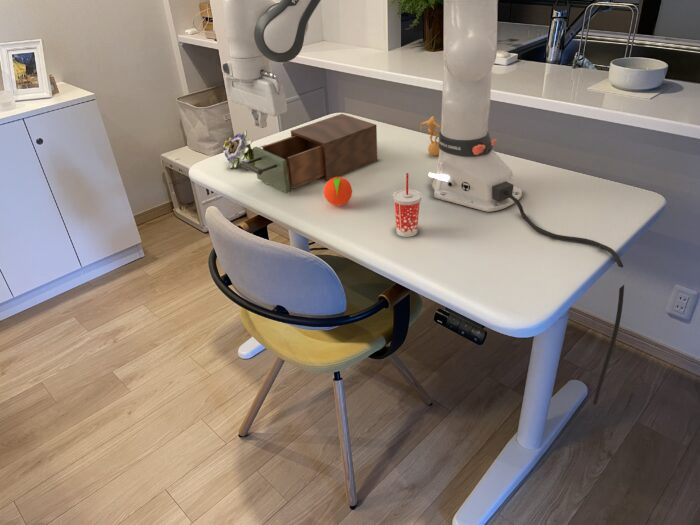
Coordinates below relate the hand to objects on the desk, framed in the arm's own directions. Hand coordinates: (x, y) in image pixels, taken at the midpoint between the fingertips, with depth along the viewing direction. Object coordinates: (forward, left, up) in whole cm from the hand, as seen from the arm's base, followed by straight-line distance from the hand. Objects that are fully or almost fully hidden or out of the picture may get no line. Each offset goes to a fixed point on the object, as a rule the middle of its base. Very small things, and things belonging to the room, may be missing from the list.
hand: (260, 126), depth 132 cm
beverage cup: (-39, -10, -18) cm, 44 cm away
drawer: (+2, -8, -17) cm, 19 cm away
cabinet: (+2, -24, -18) cm, 30 cm away
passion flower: (+21, -6, -18) cm, 28 cm away
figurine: (-15, -46, -18) cm, 52 cm away
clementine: (-18, -8, -18) cm, 27 cm away
